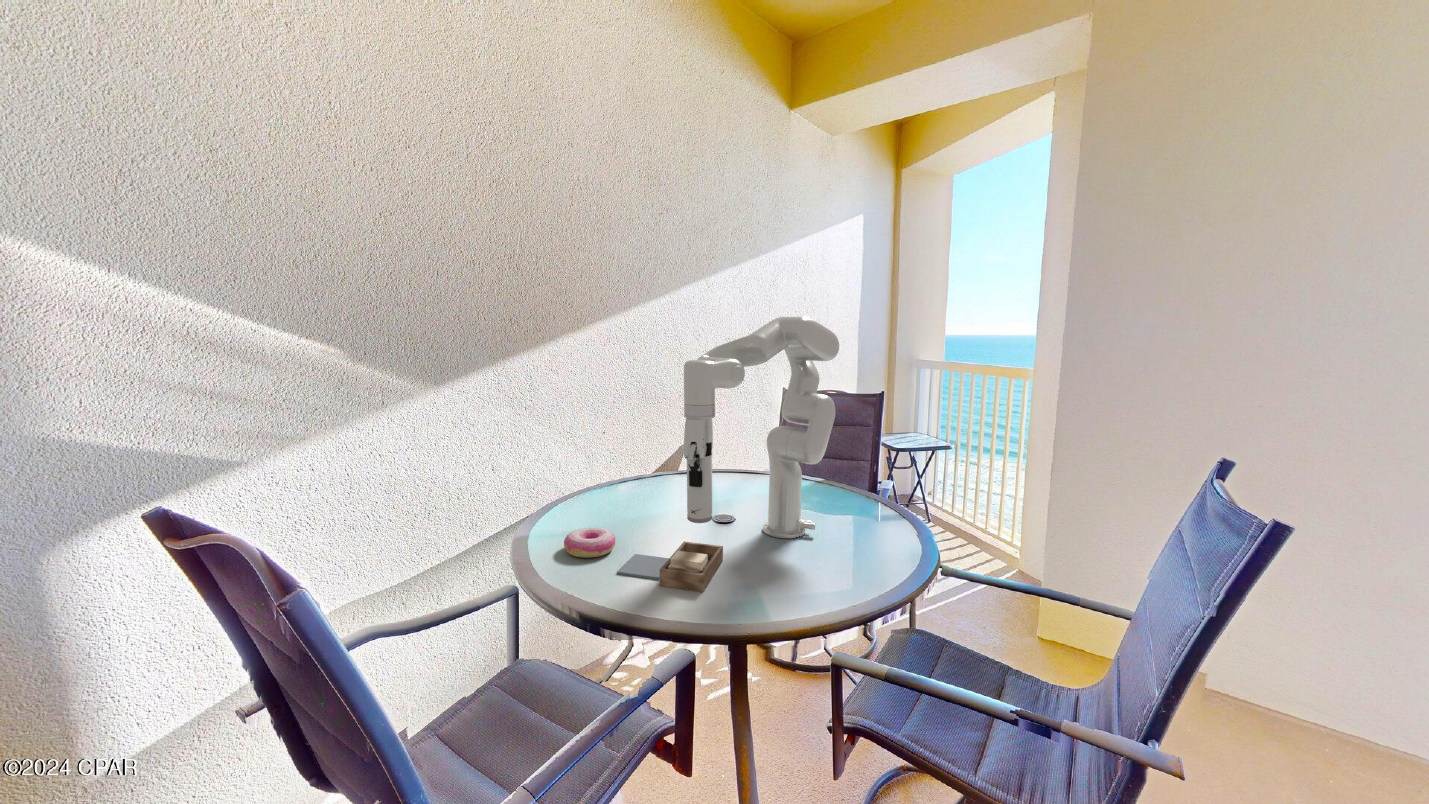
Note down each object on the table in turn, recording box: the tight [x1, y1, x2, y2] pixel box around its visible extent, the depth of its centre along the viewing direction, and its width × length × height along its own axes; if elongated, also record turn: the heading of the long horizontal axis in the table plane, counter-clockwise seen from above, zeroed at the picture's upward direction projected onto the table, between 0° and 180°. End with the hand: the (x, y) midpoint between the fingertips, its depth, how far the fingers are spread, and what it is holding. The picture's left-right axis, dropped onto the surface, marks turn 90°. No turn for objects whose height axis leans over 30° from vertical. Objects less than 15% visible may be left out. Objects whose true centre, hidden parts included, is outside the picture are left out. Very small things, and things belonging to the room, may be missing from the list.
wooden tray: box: [659, 541, 724, 593], centre depth 131 cm, size 11×18×4 cm, turn 165°
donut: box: [563, 527, 616, 559], centre depth 144 cm, size 14×13×5 cm
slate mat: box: [616, 553, 670, 581], centre depth 134 cm, size 11×11×1 cm
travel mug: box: [686, 442, 713, 524], centre depth 133 cm, size 6×7×20 cm
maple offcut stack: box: [668, 551, 709, 573], centre depth 127 cm, size 8×5×6 cm, turn 75°
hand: (700, 481), depth 133 cm, fingers closed on travel mug, 6 cm apart
